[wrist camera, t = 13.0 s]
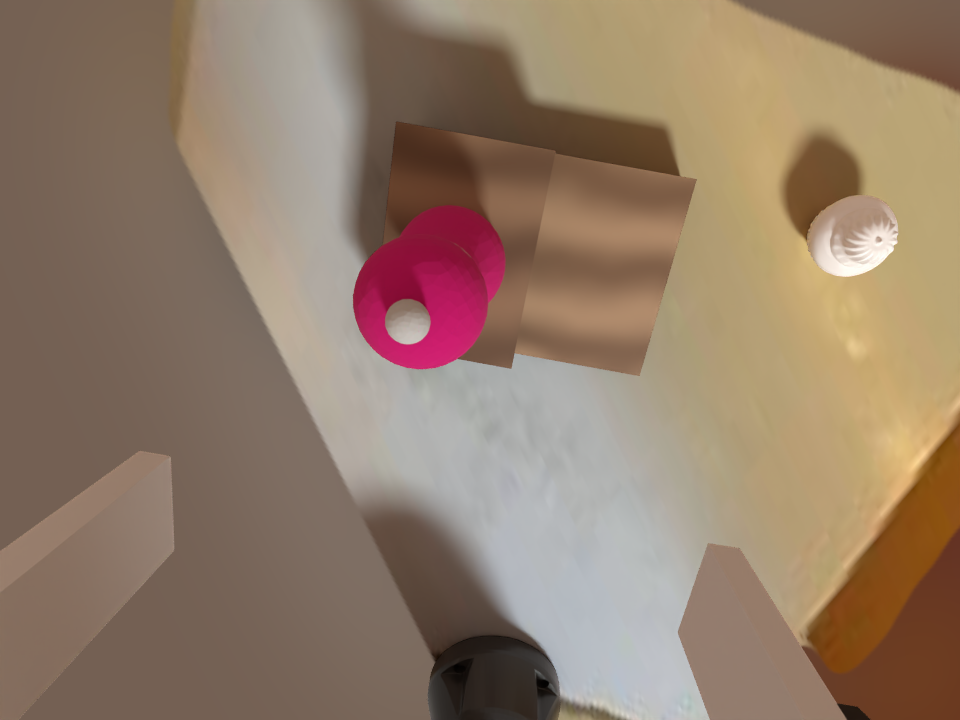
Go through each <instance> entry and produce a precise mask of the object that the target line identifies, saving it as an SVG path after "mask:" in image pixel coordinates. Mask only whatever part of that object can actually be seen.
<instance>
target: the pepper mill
mask: <svg viewBox="0 0 960 720" xmlns="http://www.w3.org/2000/svg"><path fill="white" fill-rule="evenodd" d="M505 262H506V259H505V252H504V247H503V244H502V241H501V239H500V237H499V235H498V233H497V231H496V230H495V229H494V227H493V226H492V225H491V223H490V222H488V221H487V220H486V219H485V218H484V217H483V216H481V215H480V214H478V213H476V212H475V211H473V210H470V209H468V208H465V207H460V206H453V205H445V206H438V207H434V208H430V209H428V210H426V211H424V212H422V213H421V214H419V215H418V216H416V217H415V218H414V219H413V220H412V221H411V222H410V223H409V224H408V225H407V226H406V228H405V229H404V230H403V232H402V233H401V235H400V237H399V238H396V239H394V240H392V241H390V242H388V243H386V244H384V245H383V246H381V247H380V248H379V249H378V250H376V251H375V252H374V253H373V254H372V255H371V256H370V257H369V259H368V260H367V261H366V262H365V264H364V265H363V267H362V269H361V271H360V272H359V275H358V278H357V281H356V284H355V289H354V294H353V308H354V313H355V318H356V321H357V324H358V327H359V330H360V332H361V333H362V335H363V337H364V338H365V340H366V341H367V342H368V344H369V345H370V346H371V347H372V348H373V349H374V350H375V351H376V352H377V353H378V354H379V355H380V356H382V357H383V358H385V359H387V360H389V361H390V362H392V363H394V364H397V365H400V366H403V367H406V368H413V369H429V368H436V367H440V366H443V365H446V364H448V363H450V362H452V361H454V360H456V359H457V358H459V357H460V356H462V355H463V354H465V353H466V352H467V351H468V350H469V349H470V348H471V347H472V346H473V344H474V343H475V342H476V340H477V339H478V337H479V336H480V334H481V332H482V329H483V327H484V324H485V321H486V317H487V312H488V303H489V302H490V301H491V300H492V298H493V297H494V296H495V294H496V293H497V291H498V289H499V288H500V285H501V283H502V280H503V277H504V273H505Z"/></svg>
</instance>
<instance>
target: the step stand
mask: <svg viewBox="0 0 960 720" xmlns="http://www.w3.org/2000/svg"><path fill="white" fill-rule="evenodd" d="M555 152H556V151H555V150H550V149H544V148H539V147H533V146H528V145H522V144H517V143H511V142H506V141H500V140H495V139H489V138H484V137H478V136H473V135H467V134H462V133H457V132H451V131H446V130H440V129H435V128H429V127H424V126H418V125H413V124H407V123H402V122H396V128H395V137H394V146H393V155H392V164H391V173H390V182H389V191H388V200H387V209H386V218H385V227H384V237H383V245H384V244H386V243H388V242H390V241H392V240H394V239H396V238H399V237H400V235H401V233H402V232H403V230H404V229H405V228H406V226H407V225H408V224H409V223H410V222H411V221H412V220H413V219H414V218H415V217H416V216H418V215H419V214H421V213H422V212H424V211H426V210H428V209H430V208H434V207H438V206H445V205H453V206H460V207H465V208H468V209H470V210H473V211H475V212H476V213H478V214H480V215H481V216H483V217H484V218H485V219H486V220H487V221H488V222H490V223H491V225H492V226H493V227H494V229H495V230H496V231H497V233H498V235H499V237H500V239H501V241H502V244H503V247H504V252H505V259H506V262H505V273H504V277H503V280H502V283H501V285H500V288H499V289H498V291H497V293H496V294H495V296H494V297H493V298H492V300H491V301H490V302H489V303H488V312H487V317H486V321H485V324H484V327H483V329H482V332H481V334H480V336H479V337H478V339H477V340H476V342H475V343H474V344H473V346H472V347H471V348H470V349H469V350H468V351H467V352H466V353H465V354H463V355H462V356H460V357H459V358H457V359H461V360H467V361H472V362H478V363H483V364H489V365H494V366H500V367H505V368H511V367H512V362H513V358H514V353H517V354H522V355H528V356H533V357H539V358H544V359H549V360H555V361H560V362H566V363H571V364H577V365H582V366H588V367H593V368H599V369H604V370H610V371H615V372H621V373H626V374H632V375H637V376H640V372H641V369H642V365H643V362H644V358H645V355H646V351H647V348H648V345H649V341H650V338H651V334H652V331H653V327H654V324H655V321H656V317H657V314H658V310H659V307H660V303H661V300H662V297H663V293H664V290H665V286H666V283H667V279H668V276H669V272H670V269H671V266H672V262H673V259H674V255H675V252H676V248H677V245H678V242H679V238H680V235H681V231H682V228H683V224H684V221H685V218H686V214H687V211H688V207H689V204H690V200H691V197H692V193H693V190H694V187H695V183H696V180H697V179H692V178H686V177H681V176H676V175H670V174H665V173H659V172H654V171H648V170H643V169H637V168H632V167H626V166H621V165H615V164H610V163H604V162H599V161H593V160H588V159H582V158H577V157H572V156H566V155H561V154H555Z"/></svg>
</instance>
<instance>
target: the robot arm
mask: <svg viewBox="0 0 960 720" xmlns="http://www.w3.org/2000/svg"><path fill="white" fill-rule="evenodd" d="M171 476H172V475H171V456H168V455H161V454H155V453H149V452H143V451H139V452H137V453H136V454H135V455H133V456H132V457H131V458H129V459H128V460H126V461H125V462H124V463H122V464H121V465H120V466H118V467H117V468H115V469H114V470H113V471H111V472H110V473H108V474H107V475H105V476H104V477H103V478H101V479H100V480H99V481H97V482H96V483H95V484H93V485H92V486H90V487H89V488H87V489H86V490H85V491H83V492H82V493H81V494H79V495H78V496H76V497H75V498H74V499H72V500H71V501H69V502H68V503H67V504H65V505H64V506H62V507H61V508H60V509H58V510H57V511H55V512H54V513H53V514H51V515H50V516H49V517H47V518H46V519H44V520H43V521H42V522H40V523H39V524H37V525H36V526H35V527H33V528H32V529H31V530H29V531H28V532H26V533H25V534H24V535H22V536H21V537H19V538H18V539H17V540H15V541H14V542H12V543H11V544H10V545H8V546H7V547H5V548H4V549H3V550H1V551H0V720H19V719H20V717H21V716H22V715H23V714H24V713H25V712H26V711H27V710H28V709H29V708H30V707H31V705H32V704H33V703H34V702H35V701H36V700H37V699H38V698H39V697H40V696H41V695H42V694H43V692H44V691H45V690H46V689H47V688H48V687H49V686H50V685H51V684H52V683H53V682H54V680H55V679H56V678H57V677H58V676H59V675H60V674H61V673H62V672H63V671H64V670H65V668H66V667H67V666H68V665H69V664H70V663H71V662H72V661H73V660H74V659H75V657H77V655H78V654H79V653H80V652H81V651H82V650H83V649H84V648H85V647H86V646H87V645H88V643H89V642H90V641H91V640H92V639H93V638H94V637H95V636H96V635H97V634H98V633H99V631H100V630H101V629H102V628H103V627H104V626H105V625H106V623H108V622H109V620H111V618H112V617H113V616H114V615H115V614H116V613H117V612H118V611H119V610H120V609H121V608H122V606H123V605H124V604H125V603H126V602H127V601H128V600H129V599H130V598H131V596H132V595H133V594H134V593H135V592H136V591H137V590H138V589H139V588H140V587H141V586H142V585H143V583H145V581H146V580H147V579H148V578H149V577H150V576H151V575H152V574H153V573H154V572H155V570H156V569H157V568H158V567H159V566H160V565H161V564H162V563H163V561H165V560H166V558H167V557H168V556H169V555H170V554H171V553H172V552H173V551H174V529H173V505H172V504H173V502H172V477H171ZM678 634H679V637H680V640H681V643H682V645H683V648H684V651H685V653H686V656H687V659H688V661H689V664H690V667H691V670H692V672H693V675H694V678H695V680H696V683H697V686H698V688H699V691H700V694H701V697H702V699H703V702H704V705H705V707H706V710H707V713H708V715H709V718H710V720H870V719H869V718H868V717H867V716H866V715H865V714H864V713H863V712H862V711H861V710H860V709H859V708H858V707H855V706H849V705H843V704H837V703H836V702H835V700H834V698H833V697H832V695H831V694H830V692H829V691H828V689H827V687H826V686H825V684H824V683H823V681H822V679H821V678H820V676H819V674H818V673H817V671H816V670H815V668H814V666H813V665H812V663H811V662H810V660H809V659H808V657H807V655H806V654H805V652H804V650H803V649H802V647H801V646H800V644H799V642H798V641H797V639H796V638H795V636H794V634H793V633H792V631H791V630H790V628H789V626H788V625H787V623H786V622H785V620H784V618H783V617H782V615H781V614H780V612H779V610H778V609H777V607H776V606H775V604H774V602H773V601H772V599H771V598H770V596H769V594H768V593H767V591H766V590H765V588H764V586H763V585H762V583H761V582H760V580H759V578H758V577H757V575H756V574H755V572H754V570H753V569H752V567H751V566H750V564H749V562H748V561H747V559H746V558H745V556H744V554H743V553H742V551H741V550H740V548H735V547H728V546H722V545H716V544H710V543H708V545H707V548H706V551H705V554H704V557H703V560H702V563H701V566H700V568H699V571H698V574H697V577H696V580H695V583H694V586H693V589H692V592H691V595H690V598H689V601H688V604H687V607H686V609H685V612H684V615H683V618H682V621H681V624H680V627H679V630H678ZM428 705H429V711H430V717H431V720H558V716H559V712H560V690H559V681H558V677H557V674H556V671H555V669H554V668H553V666H552V664H551V663H550V662H549V661H548V659H547V658H546V657H545V656H544V655H543V654H541V653H540V652H539V651H538V650H536V649H535V648H533V647H531V646H529V645H527V644H525V643H523V642H520V641H517V640H514V639H510V638H506V637H498V636H484V637H476V638H471V639H468V640H465V641H462V642H459V643H457V644H455V645H453V646H452V647H450V648H449V649H447V650H446V651H445V652H444V653H443V654H442V655H441V656H440V657H439V658H438V660H437V661H436V663H435V664H434V667H433V669H432V672H431V676H430V683H429V689H428Z"/></svg>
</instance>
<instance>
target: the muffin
mask: <svg viewBox="0 0 960 720" xmlns="http://www.w3.org/2000/svg"><path fill="white" fill-rule="evenodd" d="M897 235H898V224H897V220H896V217H895V215H894V213H893V211H892V210H891V208H890V207H889V206H888V205H887V204H886V203H885V202H884V201H882V200H880V199H878V198H876V197H873V196H868V195H854V196H849V197H846V198H843V199H841V200H839V201H837V202H835V203H833V204H832V205H829V206H827V207H826V209H825V210H822V211H821V212H820V213H819V215H818V216H816V217H815V219H814V220H813V222H812V223H811V225H810V228H809V229H808V233H807V245H808V251H809V252H810V253H811V257H812V258H813V260H814V261H815V263H816V264H817V265H818V266H819V267H820V268H821V269H822V270H824V271H825V272H827V273H830V274H832V275H836V276H854V275H858V274H862V273H864V272H867V271H869V270H871V269H873V268H874V267H876V266H877V265H879V264H880V263H881V262H882V261H883V260H884V259H885V258H886V257H887V256H888V255H889V253H891V252H892V251H893V250H894V245H895V244H896V243H897V242H898V241H897Z"/></svg>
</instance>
